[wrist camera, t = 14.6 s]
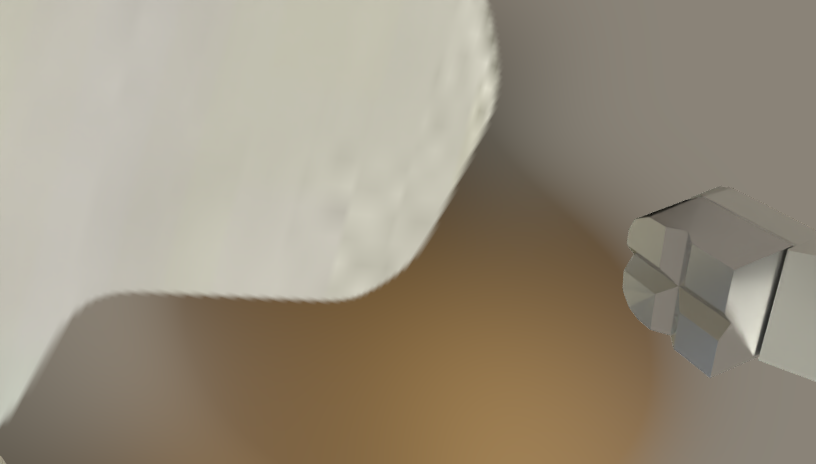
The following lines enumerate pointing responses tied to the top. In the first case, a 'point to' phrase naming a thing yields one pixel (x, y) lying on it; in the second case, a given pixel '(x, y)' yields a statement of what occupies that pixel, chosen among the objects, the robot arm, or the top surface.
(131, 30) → the top surface
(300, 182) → the top surface
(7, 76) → the top surface
